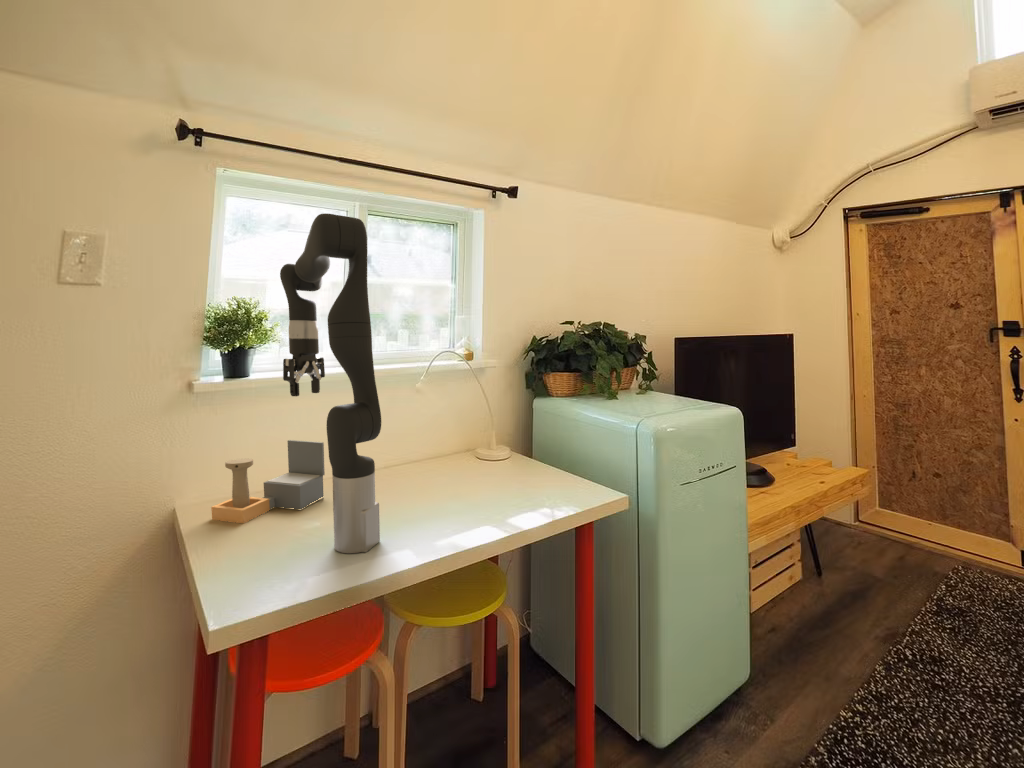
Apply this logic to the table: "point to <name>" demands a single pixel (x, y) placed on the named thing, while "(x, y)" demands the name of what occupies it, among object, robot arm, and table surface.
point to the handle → (240, 481)
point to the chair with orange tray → (284, 485)
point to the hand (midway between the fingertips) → (305, 394)
